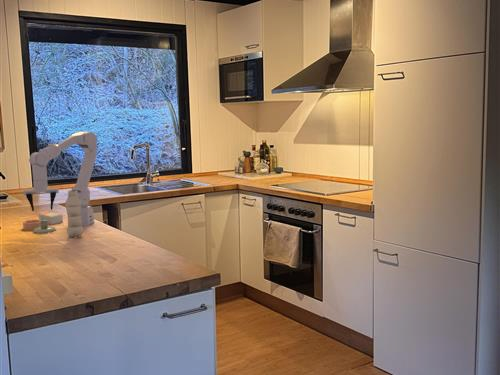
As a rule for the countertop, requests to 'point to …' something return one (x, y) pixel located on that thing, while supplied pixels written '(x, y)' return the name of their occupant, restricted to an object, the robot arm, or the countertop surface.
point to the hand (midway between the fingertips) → (42, 209)
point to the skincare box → (51, 217)
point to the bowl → (31, 224)
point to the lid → (44, 227)
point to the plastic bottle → (74, 214)
